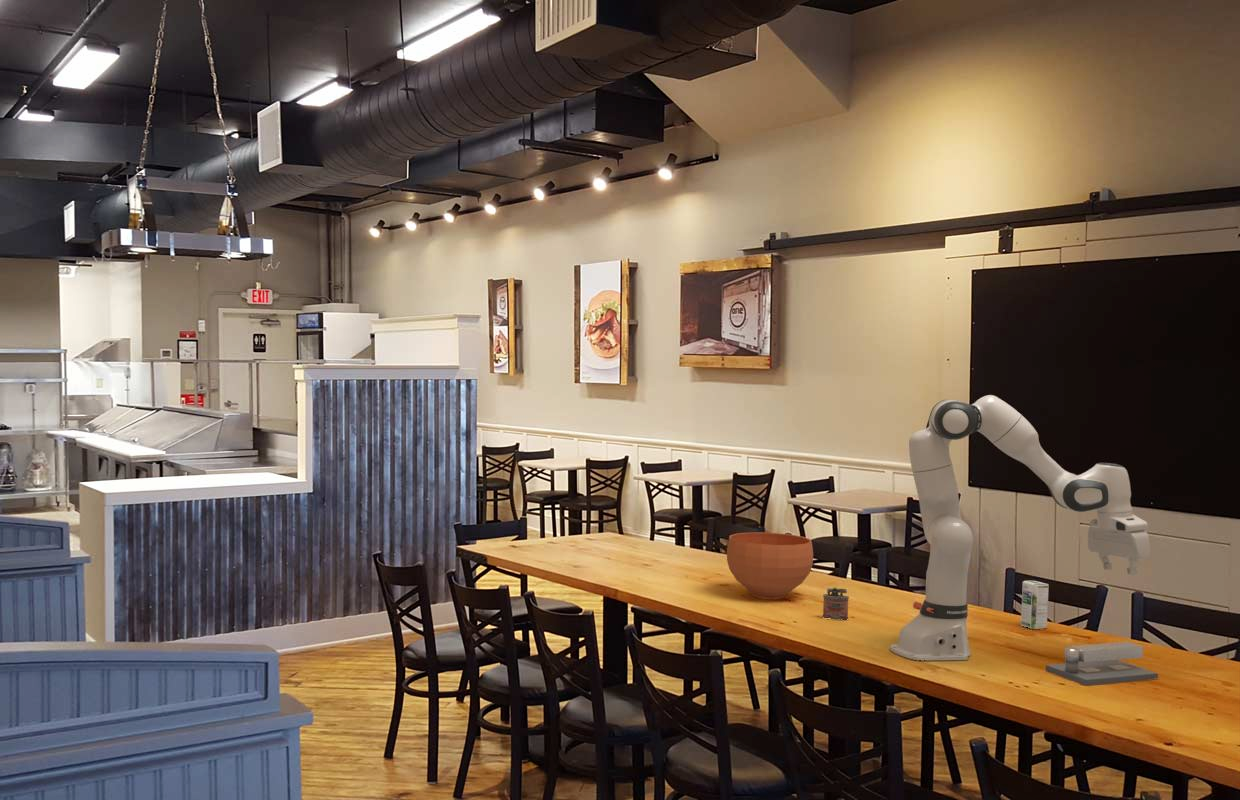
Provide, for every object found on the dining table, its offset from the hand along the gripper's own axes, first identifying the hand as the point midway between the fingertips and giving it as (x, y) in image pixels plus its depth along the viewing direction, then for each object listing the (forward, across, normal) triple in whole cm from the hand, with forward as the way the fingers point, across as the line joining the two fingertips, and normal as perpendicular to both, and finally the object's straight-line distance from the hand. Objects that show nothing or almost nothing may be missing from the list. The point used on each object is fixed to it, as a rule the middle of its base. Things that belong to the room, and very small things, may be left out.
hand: (1119, 571), depth 275 cm
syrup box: (+24, -44, +2) cm, 51 cm away
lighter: (+18, -62, -57) cm, 86 cm away
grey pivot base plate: (+25, +6, -13) cm, 29 cm away
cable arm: (+21, +6, -13) cm, 25 cm away
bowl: (+15, -98, -66) cm, 119 cm away
